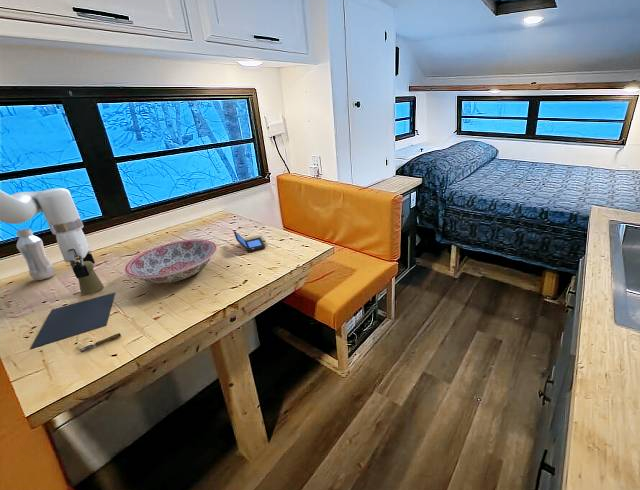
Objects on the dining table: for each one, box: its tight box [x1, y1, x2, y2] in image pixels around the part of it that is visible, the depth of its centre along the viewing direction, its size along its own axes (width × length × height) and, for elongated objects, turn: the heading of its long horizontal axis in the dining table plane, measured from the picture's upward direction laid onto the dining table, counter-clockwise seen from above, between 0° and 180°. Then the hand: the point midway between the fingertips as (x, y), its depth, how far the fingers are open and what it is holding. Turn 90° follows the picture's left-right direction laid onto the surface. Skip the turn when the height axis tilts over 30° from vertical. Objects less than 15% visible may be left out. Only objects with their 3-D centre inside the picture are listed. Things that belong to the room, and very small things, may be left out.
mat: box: [29, 292, 116, 350], centre depth 95 cm, size 16×20×1 cm
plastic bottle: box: [15, 228, 56, 281], centre depth 114 cm, size 6×7×20 cm
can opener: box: [77, 332, 122, 353], centre depth 84 cm, size 9×2×1 cm, turn 126°
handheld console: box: [233, 230, 266, 254], centre depth 137 cm, size 12×11×7 cm
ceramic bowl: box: [124, 238, 218, 284], centre depth 116 cm, size 29×29×8 cm
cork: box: [77, 261, 105, 296], centre depth 107 cm, size 6×6×11 cm
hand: (86, 270), depth 106 cm, fingers open, 9 cm apart
